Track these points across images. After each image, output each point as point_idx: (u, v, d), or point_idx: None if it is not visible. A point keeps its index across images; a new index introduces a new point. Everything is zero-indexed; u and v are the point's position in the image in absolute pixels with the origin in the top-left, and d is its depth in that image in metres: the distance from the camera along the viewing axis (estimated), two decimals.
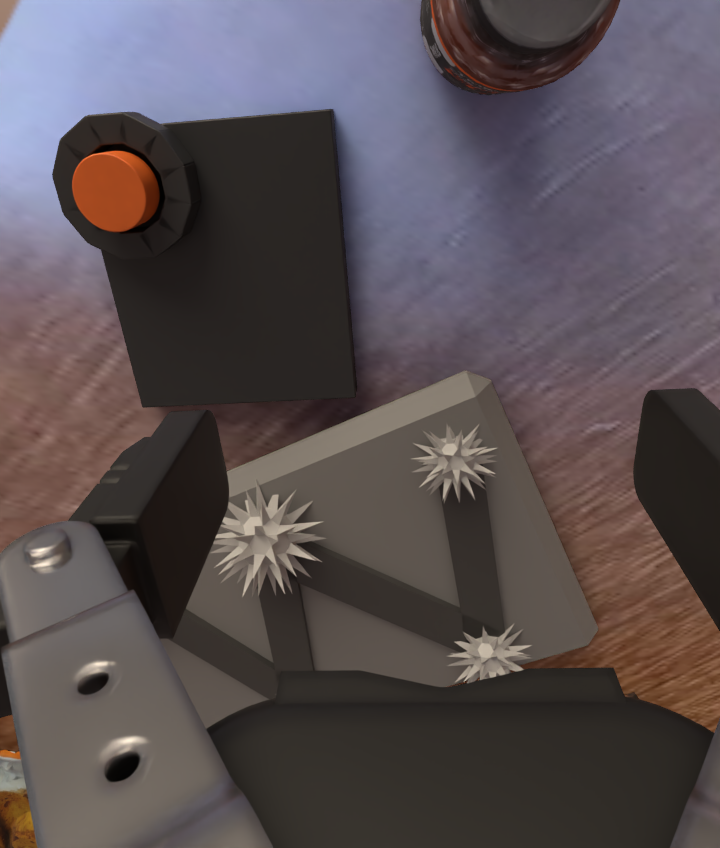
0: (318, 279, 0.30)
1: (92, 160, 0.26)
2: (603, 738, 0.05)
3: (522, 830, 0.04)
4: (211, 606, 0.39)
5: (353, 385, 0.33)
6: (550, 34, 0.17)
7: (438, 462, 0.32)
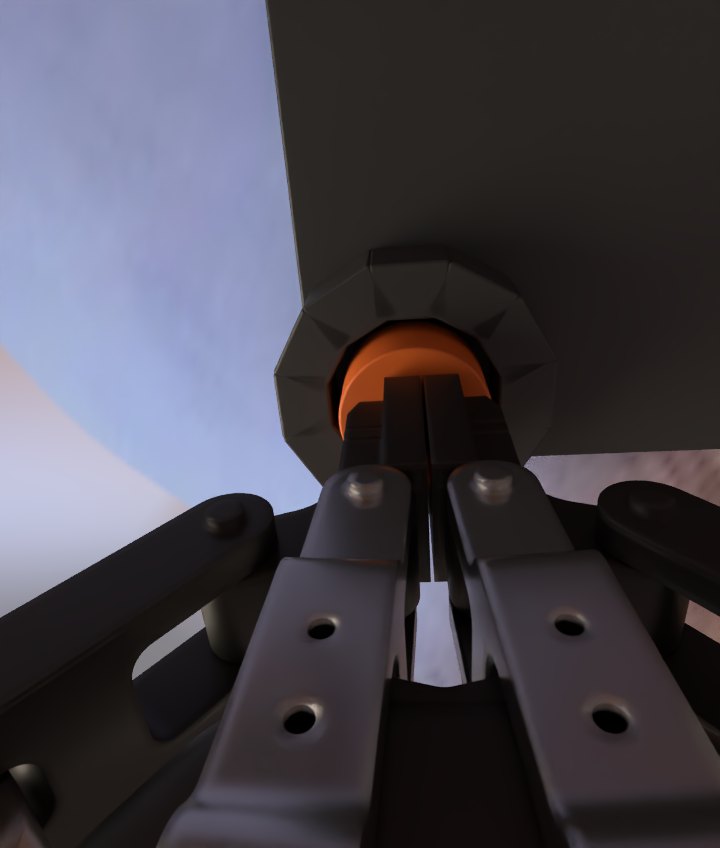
0: None
1: None
2: None
3: (522, 830, 0.04)
4: None
5: None
6: None
7: None
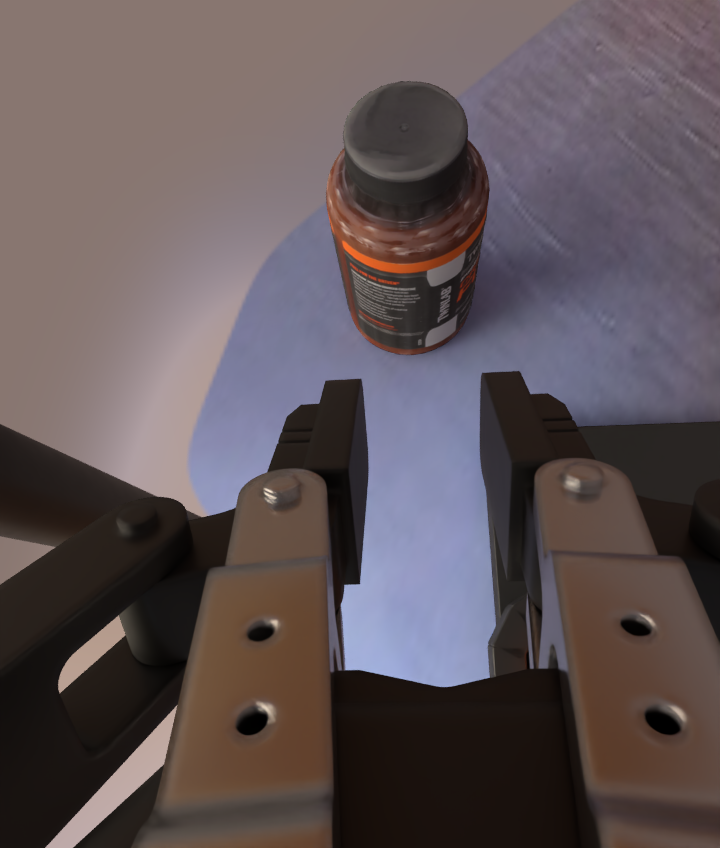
0: (669, 454, 0.25)
1: None
2: None
3: (522, 830, 0.04)
4: None
5: None
6: (457, 119, 0.19)
7: None
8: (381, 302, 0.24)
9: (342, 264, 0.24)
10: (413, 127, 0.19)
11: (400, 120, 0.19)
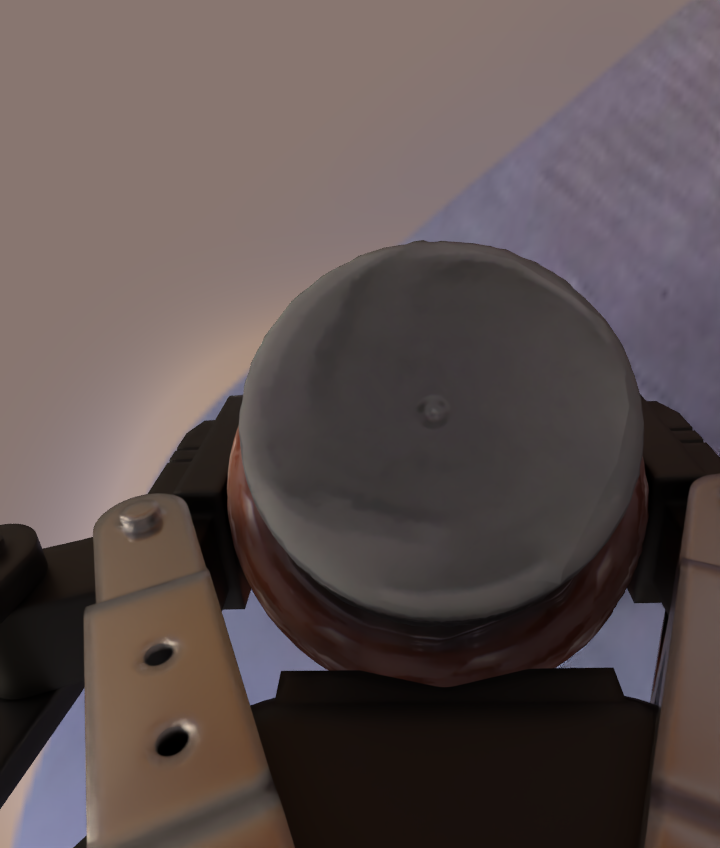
0: None
1: None
2: (603, 738, 0.05)
3: (522, 830, 0.04)
4: None
5: None
6: (610, 388, 0.06)
7: None
8: None
9: None
10: (463, 410, 0.06)
11: (420, 382, 0.06)
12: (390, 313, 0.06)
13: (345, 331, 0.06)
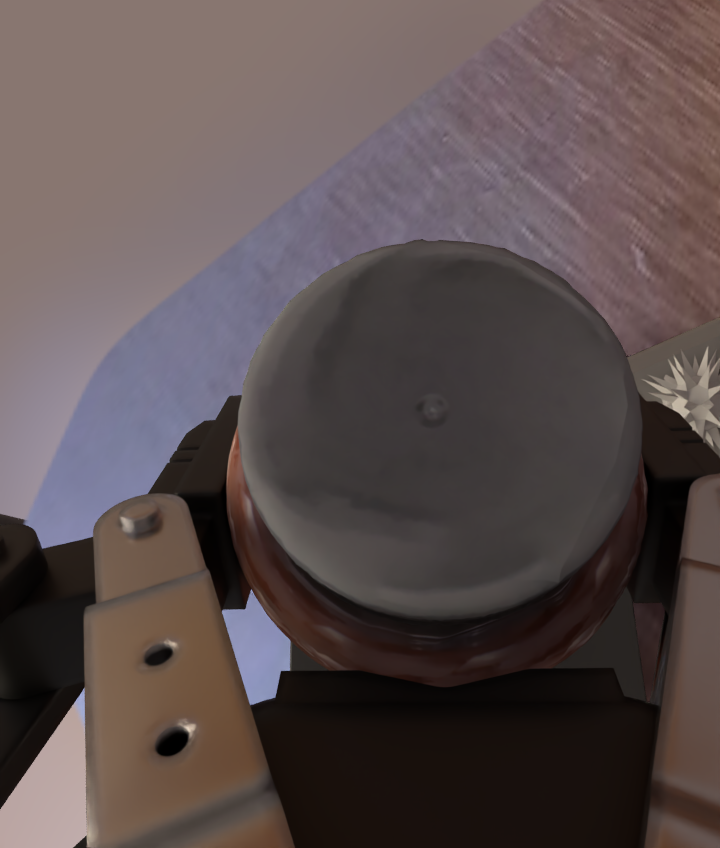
0: None
1: None
2: (603, 738, 0.05)
3: (522, 830, 0.04)
4: None
5: None
6: (608, 387, 0.06)
7: (701, 419, 0.24)
8: None
9: None
10: (462, 408, 0.06)
11: (419, 381, 0.06)
12: (389, 312, 0.06)
13: (344, 330, 0.06)
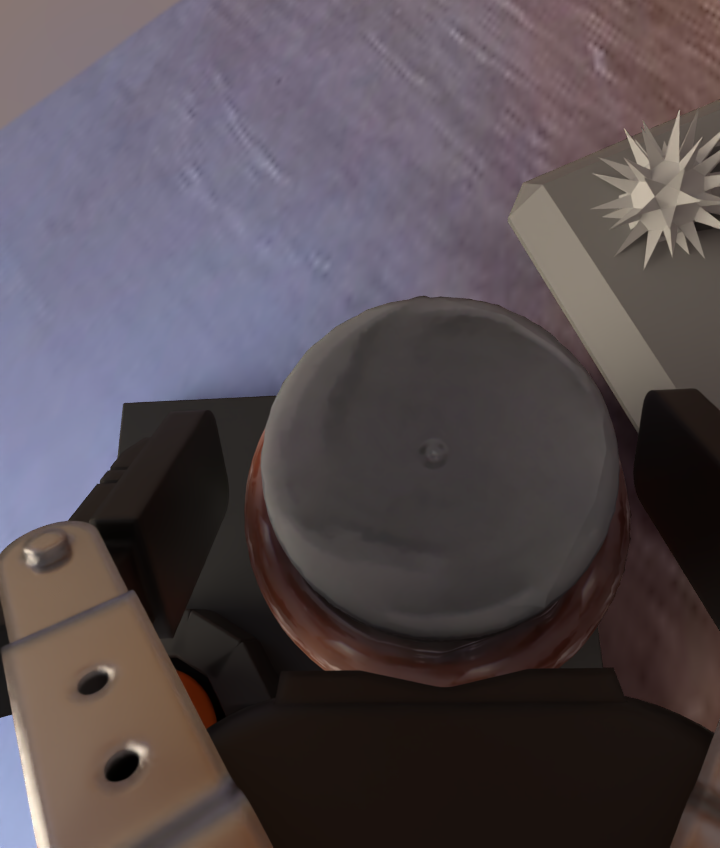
0: None
1: None
2: (603, 738, 0.05)
3: (522, 830, 0.04)
4: None
5: None
6: (589, 433, 0.07)
7: (671, 206, 0.17)
8: None
9: None
10: (459, 452, 0.07)
11: (421, 427, 0.07)
12: (395, 363, 0.07)
13: (355, 380, 0.07)
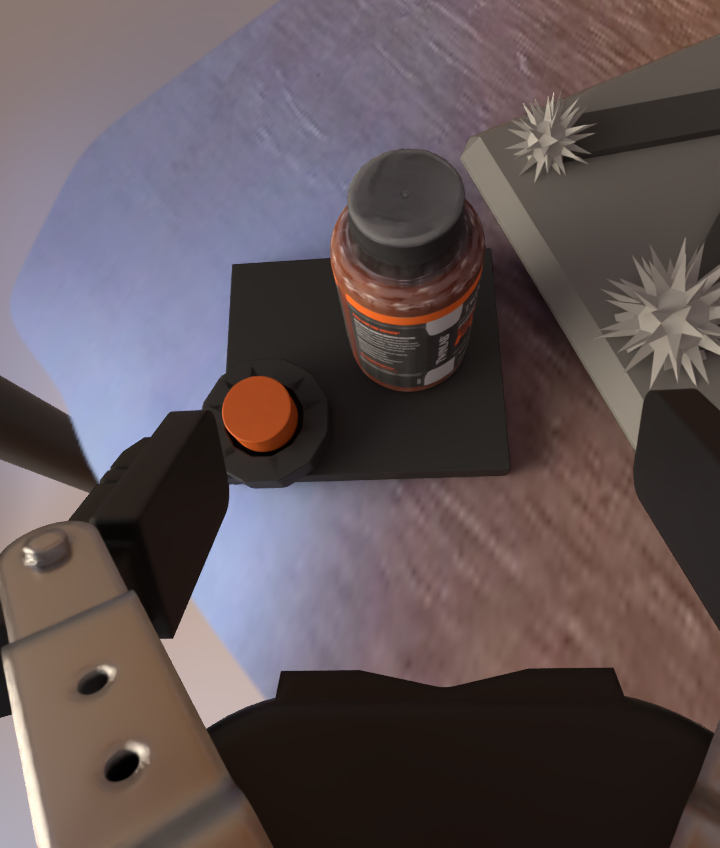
0: None
1: (226, 416, 0.28)
2: (603, 738, 0.05)
3: (522, 830, 0.04)
4: None
5: None
6: (455, 187, 0.20)
7: (547, 145, 0.31)
8: (383, 347, 0.25)
9: (345, 311, 0.26)
10: (413, 194, 0.20)
11: (401, 187, 0.21)
12: (392, 169, 0.21)
13: (379, 174, 0.21)
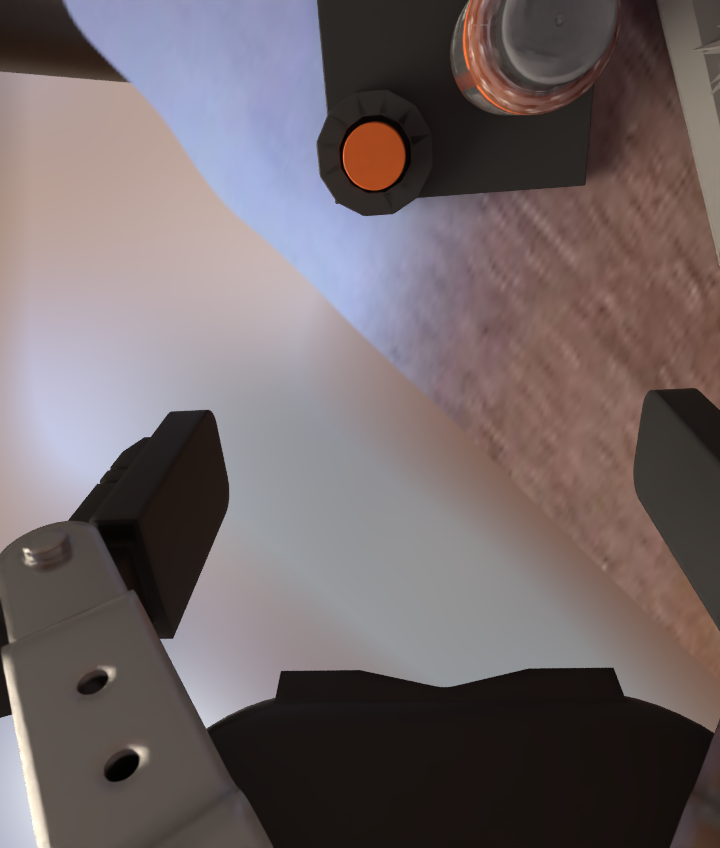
0: None
1: (348, 166, 0.31)
2: (603, 738, 0.05)
3: (522, 830, 0.04)
4: None
5: None
6: (609, 10, 0.21)
7: None
8: (498, 111, 0.28)
9: (466, 75, 0.27)
10: (567, 20, 0.21)
11: (556, 10, 0.21)
12: None
13: None
